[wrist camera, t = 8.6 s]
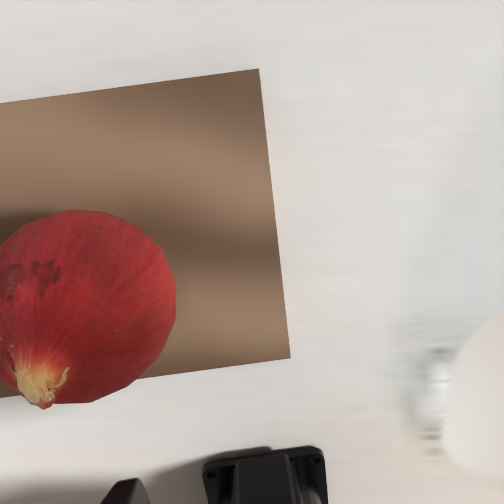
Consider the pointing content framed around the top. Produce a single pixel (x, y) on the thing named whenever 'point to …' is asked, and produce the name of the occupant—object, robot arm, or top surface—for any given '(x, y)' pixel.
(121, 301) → the onion
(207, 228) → the walnut board
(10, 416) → the top surface
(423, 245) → the top surface
